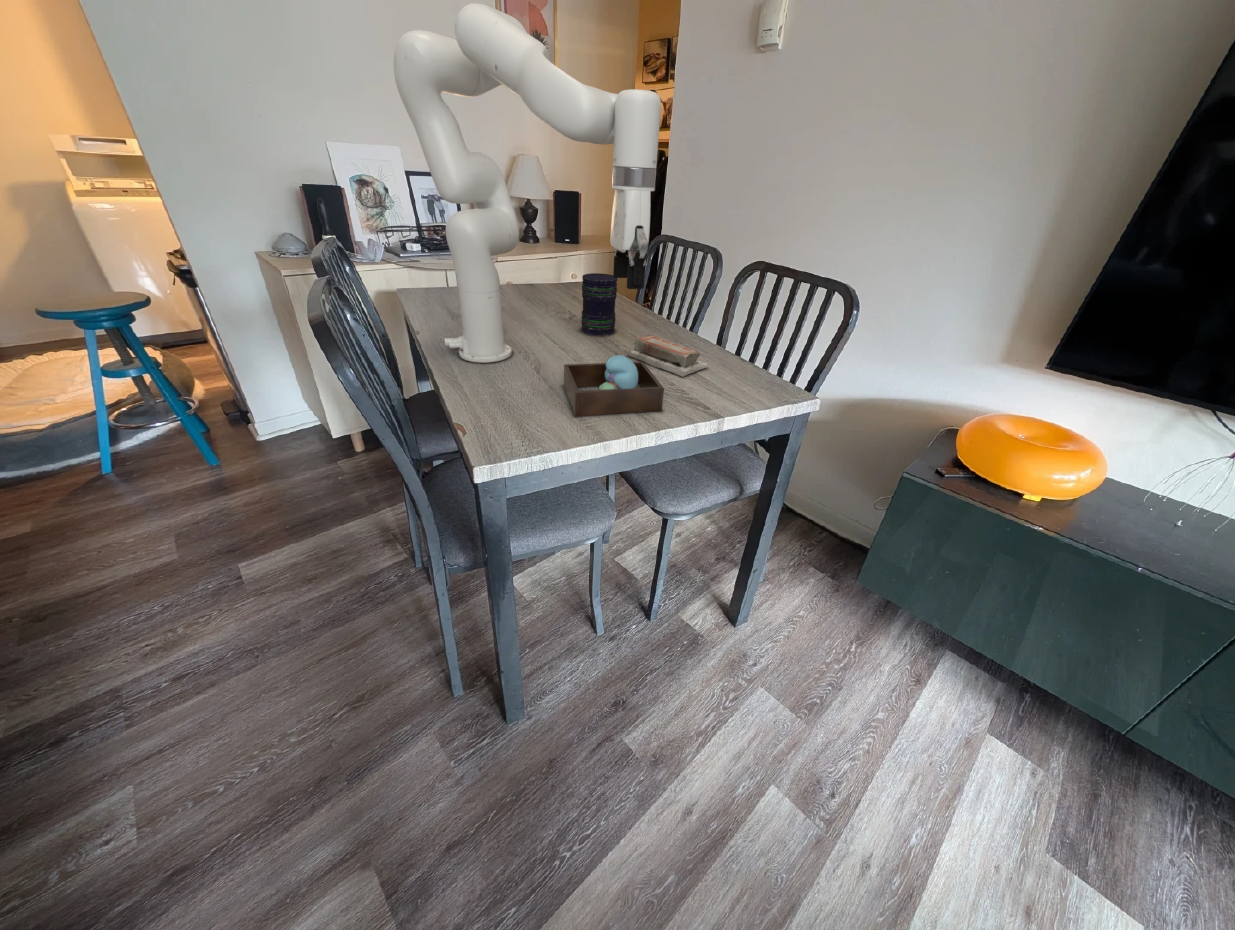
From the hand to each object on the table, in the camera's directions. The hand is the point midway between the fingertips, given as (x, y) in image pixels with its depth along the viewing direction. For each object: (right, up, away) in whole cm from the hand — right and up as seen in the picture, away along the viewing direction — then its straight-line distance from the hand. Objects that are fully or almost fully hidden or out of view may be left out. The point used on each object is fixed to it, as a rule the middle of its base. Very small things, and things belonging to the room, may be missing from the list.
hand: (627, 282), depth 92 cm
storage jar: (-8, +4, +46) cm, 47 cm away
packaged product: (+10, -10, +27) cm, 31 cm away
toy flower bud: (-3, -22, +7) cm, 23 cm away
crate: (-3, -21, +7) cm, 23 cm away
